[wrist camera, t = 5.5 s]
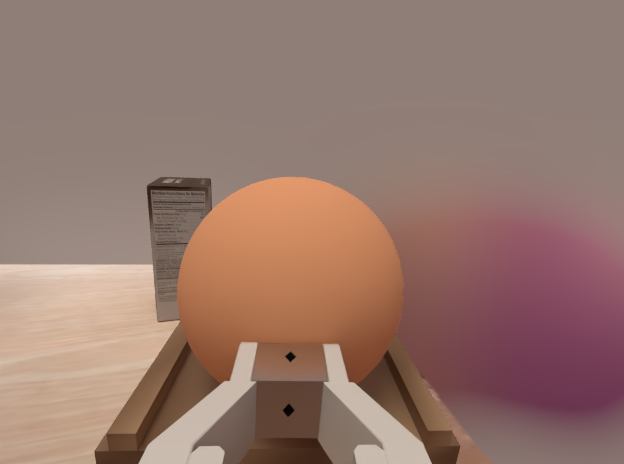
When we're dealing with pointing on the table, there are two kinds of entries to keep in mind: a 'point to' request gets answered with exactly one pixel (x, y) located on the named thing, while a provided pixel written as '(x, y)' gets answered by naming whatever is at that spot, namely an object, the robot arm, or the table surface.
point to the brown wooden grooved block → (268, 451)
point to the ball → (290, 276)
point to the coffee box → (174, 232)
